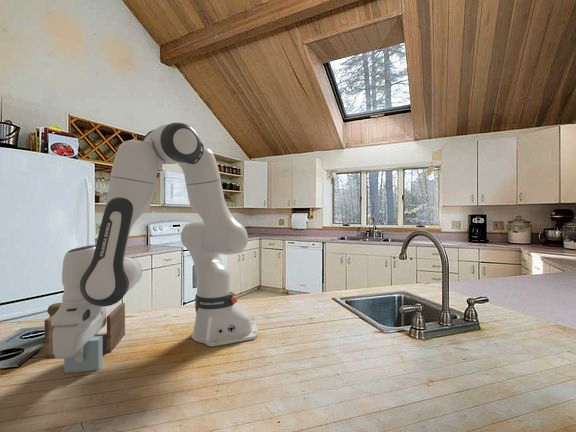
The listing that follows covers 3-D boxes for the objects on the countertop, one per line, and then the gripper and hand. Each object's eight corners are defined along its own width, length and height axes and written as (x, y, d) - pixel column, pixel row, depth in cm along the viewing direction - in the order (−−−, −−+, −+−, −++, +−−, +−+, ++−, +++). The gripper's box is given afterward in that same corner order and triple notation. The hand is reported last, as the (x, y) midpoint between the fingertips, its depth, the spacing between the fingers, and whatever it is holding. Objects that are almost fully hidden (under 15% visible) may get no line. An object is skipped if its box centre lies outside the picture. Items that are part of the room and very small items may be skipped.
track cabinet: (125, 334, 96) (124, 302, 96) (110, 352, 84) (110, 316, 84) (68, 338, 92) (67, 305, 92) (44, 358, 81) (44, 320, 80)
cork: (56, 341, 91) (55, 307, 90) (41, 339, 92) (40, 306, 92) (73, 333, 97) (73, 301, 96) (59, 331, 98) (59, 300, 98)
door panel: (102, 364, 78) (102, 336, 77) (98, 369, 75) (98, 340, 75) (69, 367, 76) (69, 338, 76) (64, 373, 74) (64, 342, 73)
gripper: (89, 295, 85) (89, 340, 85) (45, 322, 65) (46, 381, 65) (112, 293, 86) (112, 338, 86) (77, 320, 66) (77, 378, 66)
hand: (83, 357), depth 75 cm, fingers closed on door panel, 2 cm apart
